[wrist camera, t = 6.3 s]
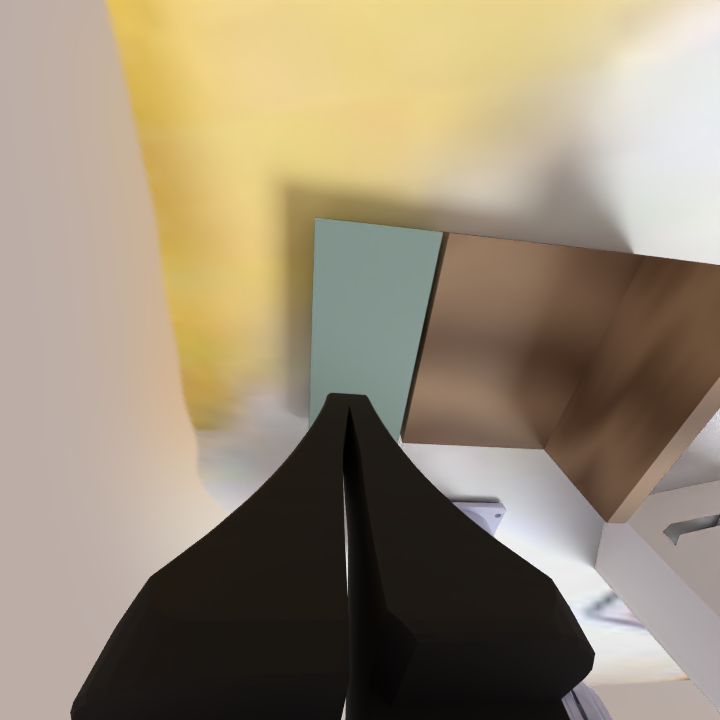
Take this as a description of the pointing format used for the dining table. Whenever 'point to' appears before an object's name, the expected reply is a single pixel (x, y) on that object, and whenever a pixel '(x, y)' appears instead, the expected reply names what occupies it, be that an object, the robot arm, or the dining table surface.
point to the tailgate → (369, 312)
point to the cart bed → (569, 360)
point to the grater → (672, 578)
